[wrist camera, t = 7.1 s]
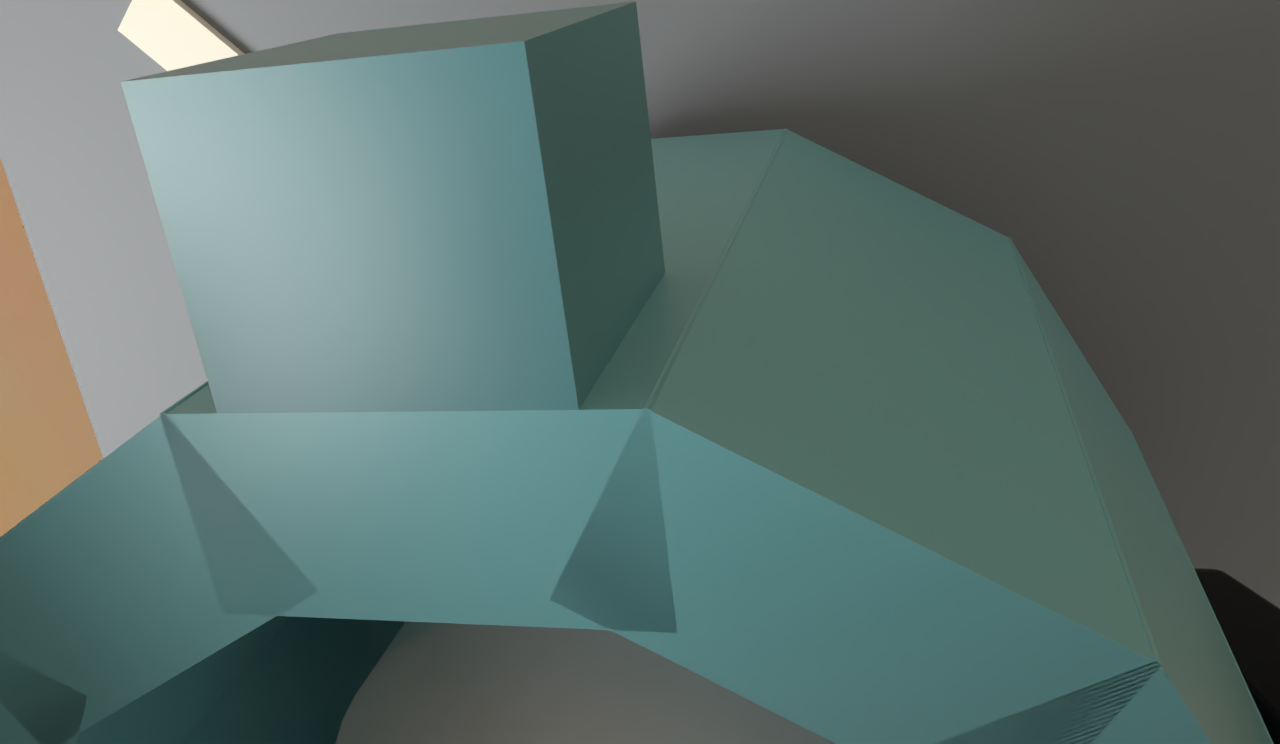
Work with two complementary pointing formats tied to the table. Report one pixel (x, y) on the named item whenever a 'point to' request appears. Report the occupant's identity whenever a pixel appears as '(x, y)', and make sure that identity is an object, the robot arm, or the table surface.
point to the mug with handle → (595, 423)
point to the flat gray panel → (742, 102)
